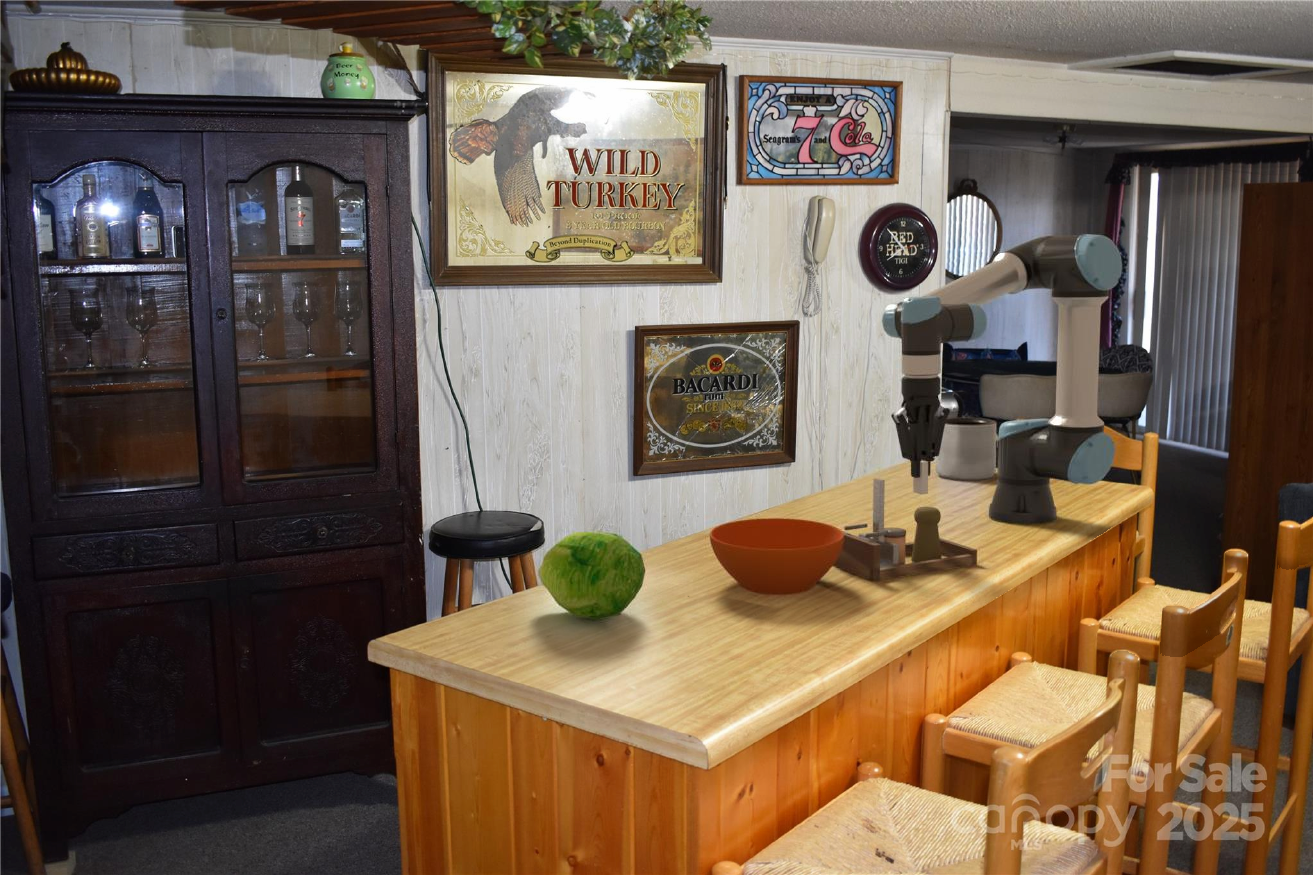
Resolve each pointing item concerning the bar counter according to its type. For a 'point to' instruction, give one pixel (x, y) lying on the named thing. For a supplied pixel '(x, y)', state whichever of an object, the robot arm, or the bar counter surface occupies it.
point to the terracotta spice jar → (897, 541)
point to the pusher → (881, 527)
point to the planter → (967, 449)
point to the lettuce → (593, 574)
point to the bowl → (776, 553)
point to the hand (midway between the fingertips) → (920, 492)
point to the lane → (866, 563)
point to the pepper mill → (926, 535)
